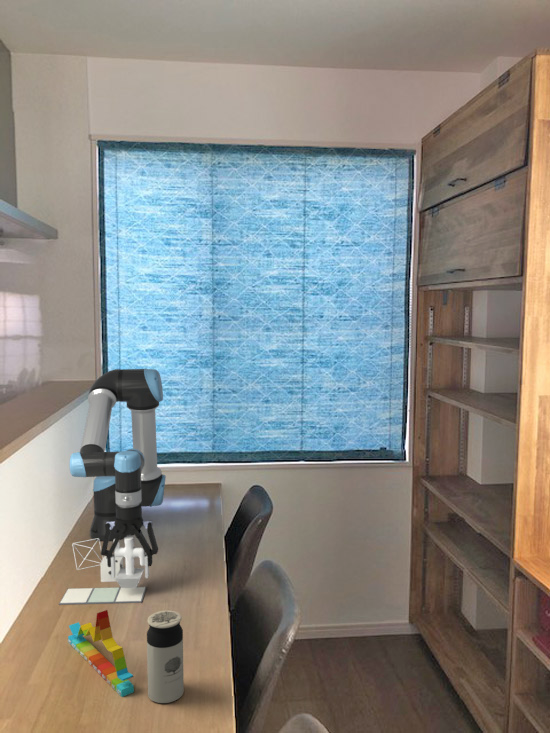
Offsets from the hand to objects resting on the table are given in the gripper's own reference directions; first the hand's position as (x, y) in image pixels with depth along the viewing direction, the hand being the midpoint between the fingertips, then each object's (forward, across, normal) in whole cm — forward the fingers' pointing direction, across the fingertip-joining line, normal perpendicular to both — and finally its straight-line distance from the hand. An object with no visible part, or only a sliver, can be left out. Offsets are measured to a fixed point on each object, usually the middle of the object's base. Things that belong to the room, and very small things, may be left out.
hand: (130, 576), depth 196 cm
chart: (+7, -2, -38) cm, 38 cm away
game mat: (+6, -8, 0) cm, 10 cm away
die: (+6, -8, +13) cm, 16 cm away
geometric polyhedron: (+6, -18, +24) cm, 31 cm away
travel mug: (+6, +16, -50) cm, 53 cm away
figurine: (+3, 0, 0) cm, 3 cm away
